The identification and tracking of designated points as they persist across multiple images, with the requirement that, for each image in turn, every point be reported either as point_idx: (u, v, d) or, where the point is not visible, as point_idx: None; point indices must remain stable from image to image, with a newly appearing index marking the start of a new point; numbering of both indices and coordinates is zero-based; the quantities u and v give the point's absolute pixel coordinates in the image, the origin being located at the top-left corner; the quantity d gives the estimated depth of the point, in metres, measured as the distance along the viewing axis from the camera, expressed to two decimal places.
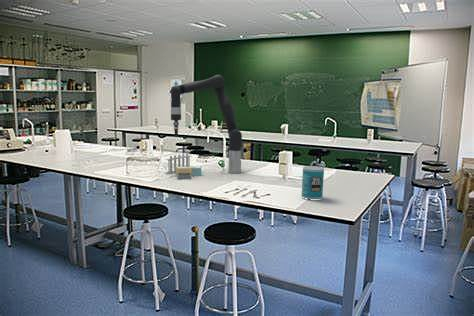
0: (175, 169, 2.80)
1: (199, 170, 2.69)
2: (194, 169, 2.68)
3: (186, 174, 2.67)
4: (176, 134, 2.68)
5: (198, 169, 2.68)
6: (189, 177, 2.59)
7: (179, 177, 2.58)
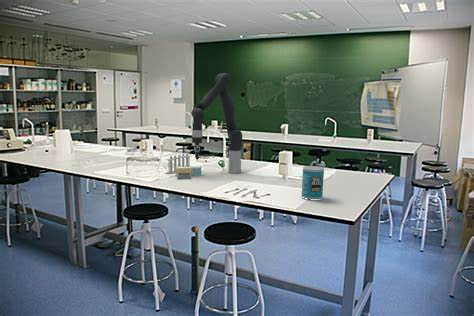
0: (175, 169, 2.80)
1: (199, 170, 2.69)
2: (194, 169, 2.68)
3: (186, 174, 2.67)
4: (197, 157, 2.64)
5: (198, 169, 2.68)
6: (189, 177, 2.59)
7: (179, 177, 2.58)
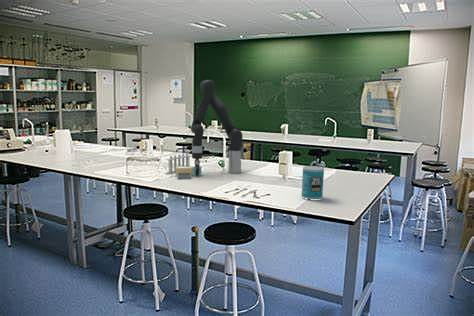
0: (175, 169, 2.80)
1: (199, 170, 2.69)
2: (194, 169, 2.68)
3: (186, 174, 2.67)
4: (197, 173, 2.68)
5: None
6: (189, 177, 2.59)
7: (179, 177, 2.58)
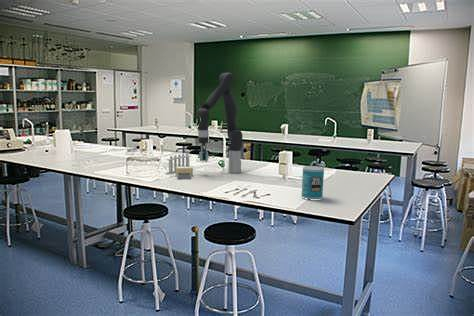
0: (175, 169, 2.80)
1: (206, 155, 2.67)
2: (201, 154, 2.67)
3: (186, 174, 2.67)
4: (204, 158, 2.67)
5: None
6: (189, 177, 2.59)
7: (179, 177, 2.58)
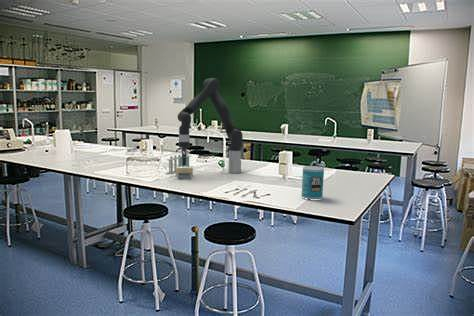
0: (175, 169, 2.80)
1: (186, 160, 2.59)
2: (181, 159, 2.58)
3: (186, 174, 2.67)
4: (184, 163, 2.58)
5: None
6: (189, 177, 2.59)
7: (179, 177, 2.58)
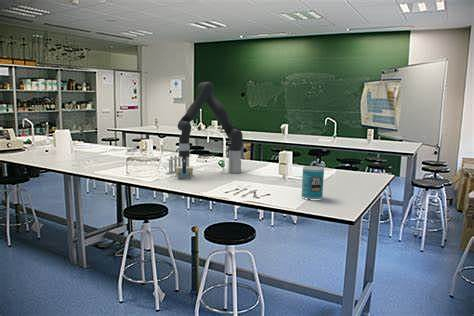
0: (175, 169, 2.80)
1: (186, 171, 2.60)
2: (181, 170, 2.59)
3: None
4: (184, 171, 2.57)
5: None
6: (189, 177, 2.59)
7: (179, 177, 2.58)
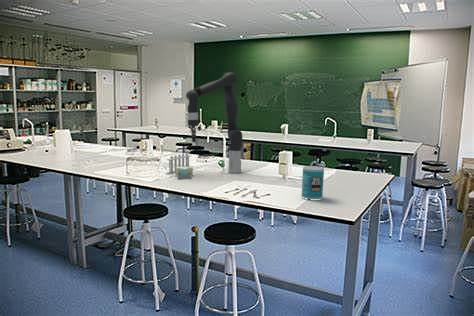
0: (175, 169, 2.80)
1: (186, 171, 2.60)
2: (181, 170, 2.59)
3: None
4: (194, 140, 2.62)
5: (185, 170, 2.60)
6: (189, 177, 2.59)
7: (179, 177, 2.58)
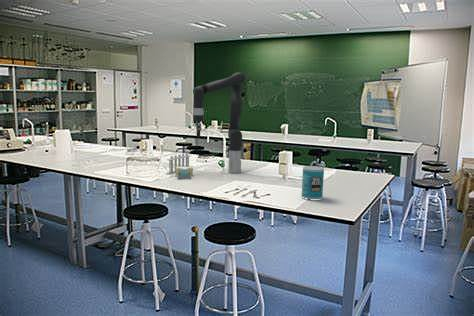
0: None
1: (186, 171, 2.60)
2: (181, 170, 2.59)
3: None
4: (198, 135, 2.67)
5: (185, 170, 2.60)
6: (189, 177, 2.59)
7: (179, 177, 2.58)
